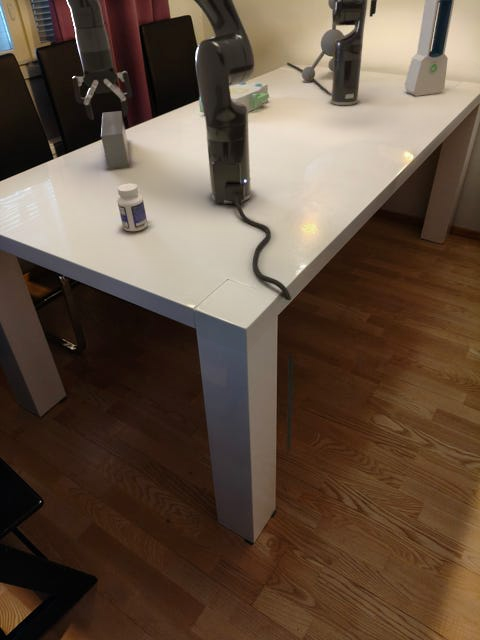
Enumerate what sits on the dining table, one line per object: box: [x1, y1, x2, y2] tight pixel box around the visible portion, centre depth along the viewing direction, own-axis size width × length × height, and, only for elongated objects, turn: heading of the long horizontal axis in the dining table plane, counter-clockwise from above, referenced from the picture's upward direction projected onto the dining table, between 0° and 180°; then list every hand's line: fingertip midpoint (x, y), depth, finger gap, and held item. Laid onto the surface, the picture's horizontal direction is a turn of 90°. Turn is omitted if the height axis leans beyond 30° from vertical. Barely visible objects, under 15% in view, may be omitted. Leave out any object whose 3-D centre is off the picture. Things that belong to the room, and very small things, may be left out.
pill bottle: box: [117, 182, 148, 232], centre depth 102 cm, size 5×5×9 cm
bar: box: [100, 110, 130, 170], centre depth 140 cm, size 23×6×9 cm, turn 12°
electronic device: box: [404, 0, 455, 97], centre depth 172 cm, size 12×8×30 cm, turn 105°
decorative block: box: [198, 81, 270, 114], centre depth 174 cm, size 26×6×20 cm
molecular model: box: [301, 0, 345, 82], centre depth 196 cm, size 24×22×30 cm
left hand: (108, 117), depth 129 cm, fingers open, 8 cm apart
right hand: (355, 17), depth 135 cm, fingers open, 8 cm apart
